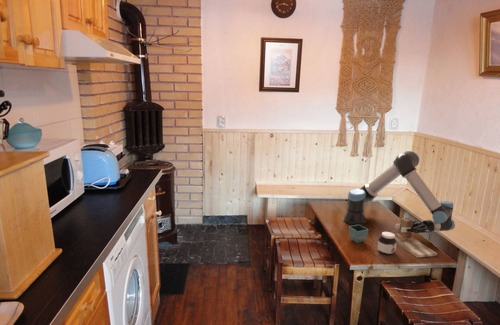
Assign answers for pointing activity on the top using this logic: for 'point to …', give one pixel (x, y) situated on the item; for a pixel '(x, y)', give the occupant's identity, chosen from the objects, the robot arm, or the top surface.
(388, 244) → the spread jar
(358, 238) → the flower pot
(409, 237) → the block
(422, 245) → the plywood board
